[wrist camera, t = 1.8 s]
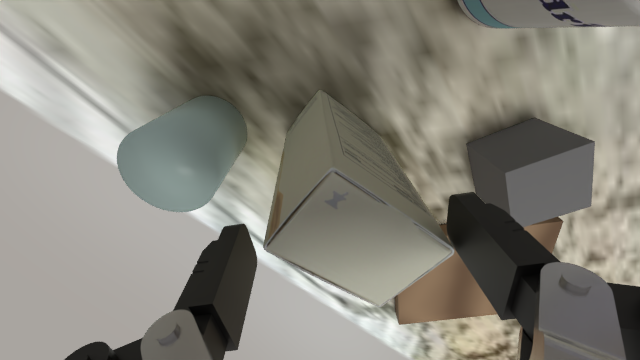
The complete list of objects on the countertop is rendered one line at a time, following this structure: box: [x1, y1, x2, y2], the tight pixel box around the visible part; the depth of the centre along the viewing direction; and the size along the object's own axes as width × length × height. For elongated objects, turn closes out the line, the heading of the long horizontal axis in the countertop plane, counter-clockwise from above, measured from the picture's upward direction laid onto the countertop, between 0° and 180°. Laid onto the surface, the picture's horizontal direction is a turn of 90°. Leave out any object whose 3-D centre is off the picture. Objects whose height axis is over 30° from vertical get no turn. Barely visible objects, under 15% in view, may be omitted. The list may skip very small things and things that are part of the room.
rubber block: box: [466, 118, 595, 227], centre depth 19 cm, size 5×5×5 cm
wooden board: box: [395, 217, 563, 325], centre depth 27 cm, size 14×12×2 cm
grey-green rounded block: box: [117, 96, 247, 212], centre depth 17 cm, size 5×5×7 cm
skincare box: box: [263, 90, 454, 307], centre depth 15 cm, size 6×4×12 cm
